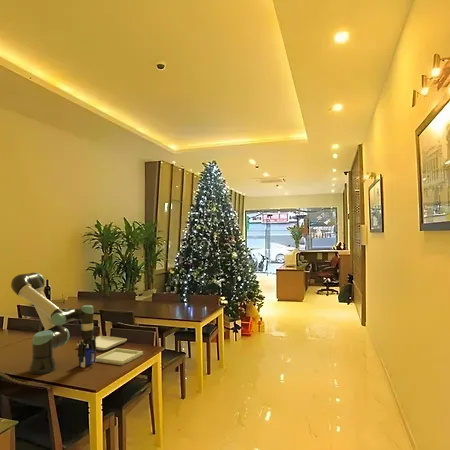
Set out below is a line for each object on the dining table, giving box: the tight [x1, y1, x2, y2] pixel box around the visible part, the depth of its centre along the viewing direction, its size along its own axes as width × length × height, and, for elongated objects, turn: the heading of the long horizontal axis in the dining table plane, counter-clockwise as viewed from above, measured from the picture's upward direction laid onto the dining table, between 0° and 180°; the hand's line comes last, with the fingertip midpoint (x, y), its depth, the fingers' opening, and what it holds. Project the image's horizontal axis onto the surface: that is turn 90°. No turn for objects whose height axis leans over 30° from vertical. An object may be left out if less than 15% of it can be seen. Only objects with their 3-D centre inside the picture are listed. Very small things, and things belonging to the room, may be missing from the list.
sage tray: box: [95, 347, 144, 366], centre depth 256 cm, size 23×23×2 cm
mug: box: [78, 348, 97, 367], centre depth 241 cm, size 8×12×10 cm
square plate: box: [76, 335, 128, 351], centre depth 287 cm, size 27×27×4 cm
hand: (87, 365), depth 241 cm, fingers open, 7 cm apart
